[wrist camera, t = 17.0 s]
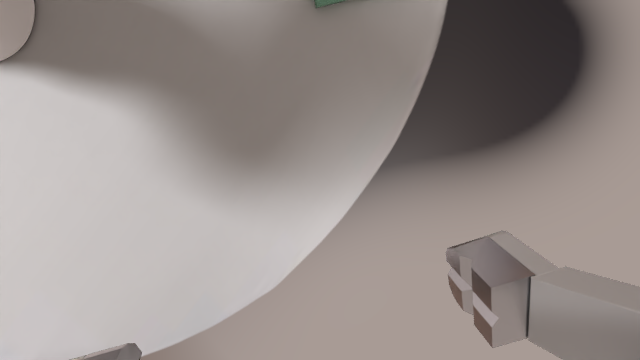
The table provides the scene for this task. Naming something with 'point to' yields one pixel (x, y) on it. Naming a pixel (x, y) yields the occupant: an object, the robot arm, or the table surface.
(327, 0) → the board
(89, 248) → the table surface
